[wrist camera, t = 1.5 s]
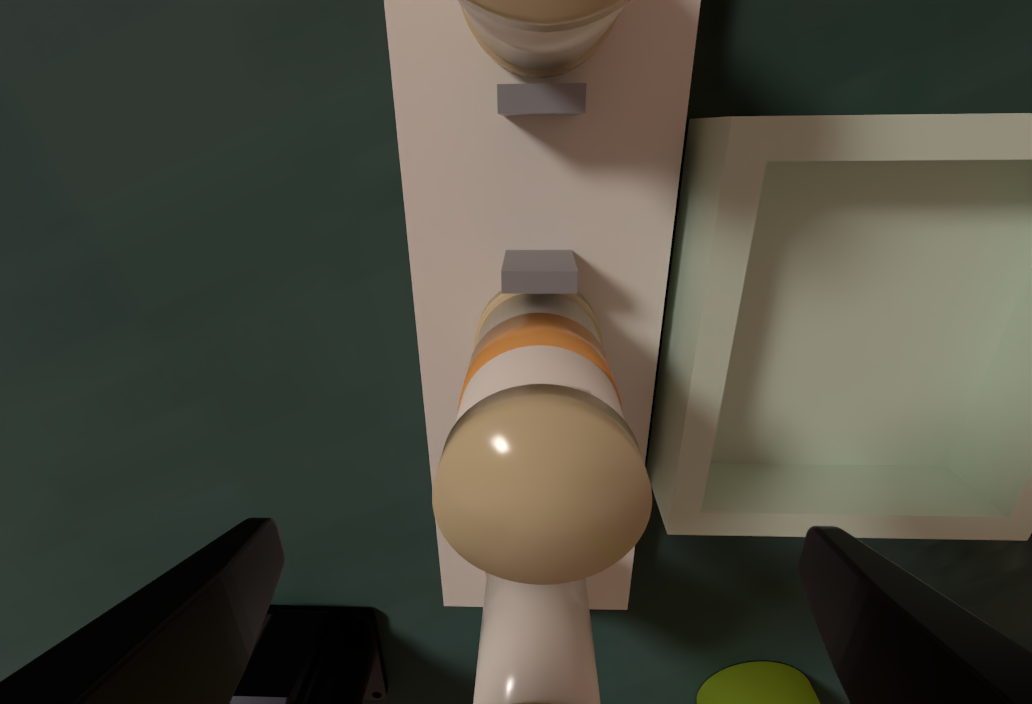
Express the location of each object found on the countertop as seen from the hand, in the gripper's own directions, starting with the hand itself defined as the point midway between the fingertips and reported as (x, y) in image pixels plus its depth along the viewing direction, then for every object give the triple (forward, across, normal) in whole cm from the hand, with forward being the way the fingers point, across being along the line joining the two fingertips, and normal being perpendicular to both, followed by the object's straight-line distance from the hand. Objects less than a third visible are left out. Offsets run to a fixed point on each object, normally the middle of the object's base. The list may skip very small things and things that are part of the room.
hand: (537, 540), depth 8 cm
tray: (+10, -11, 0) cm, 15 cm away
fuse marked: (+9, 0, 0) cm, 9 cm away
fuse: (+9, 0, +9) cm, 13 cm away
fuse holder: (+10, 0, 0) cm, 10 cm away
